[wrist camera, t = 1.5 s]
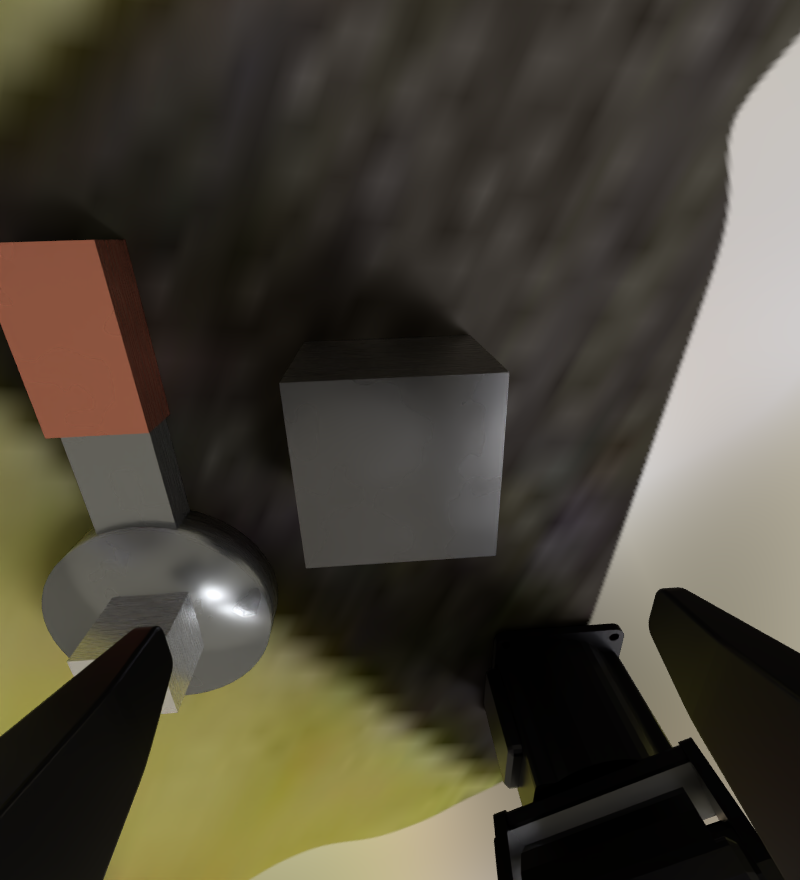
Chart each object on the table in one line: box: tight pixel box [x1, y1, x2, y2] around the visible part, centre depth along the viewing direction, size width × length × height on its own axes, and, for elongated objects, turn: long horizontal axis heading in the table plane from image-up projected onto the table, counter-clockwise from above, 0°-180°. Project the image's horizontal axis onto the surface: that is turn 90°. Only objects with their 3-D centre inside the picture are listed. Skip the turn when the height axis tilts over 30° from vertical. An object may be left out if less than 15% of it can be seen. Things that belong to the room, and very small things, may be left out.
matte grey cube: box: [279, 335, 509, 568], centre depth 15 cm, size 6×6×5 cm
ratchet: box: [0, 240, 278, 714], centre depth 16 cm, size 19×9×5 cm, turn 1°
